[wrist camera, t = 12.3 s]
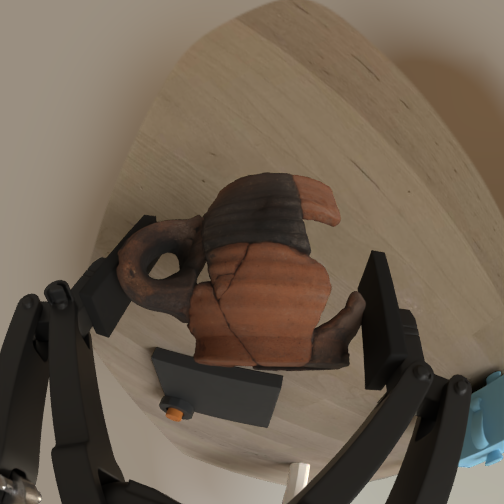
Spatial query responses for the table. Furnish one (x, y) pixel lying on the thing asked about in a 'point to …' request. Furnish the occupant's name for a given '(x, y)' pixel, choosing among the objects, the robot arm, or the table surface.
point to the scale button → (174, 414)
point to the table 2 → (296, 480)
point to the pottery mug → (248, 277)
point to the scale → (216, 389)
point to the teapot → (485, 425)
